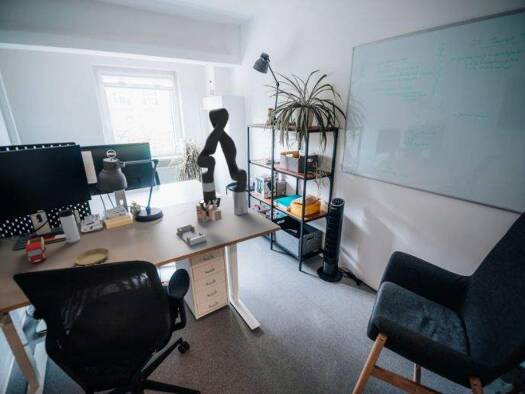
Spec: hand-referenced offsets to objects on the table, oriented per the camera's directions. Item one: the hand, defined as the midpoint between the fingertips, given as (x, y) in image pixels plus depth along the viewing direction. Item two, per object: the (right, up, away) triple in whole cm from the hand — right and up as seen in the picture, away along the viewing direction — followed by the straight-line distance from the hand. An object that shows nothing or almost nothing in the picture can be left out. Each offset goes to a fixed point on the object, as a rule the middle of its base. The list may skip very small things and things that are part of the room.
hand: (211, 215), depth 153 cm
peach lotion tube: (0, -1, 0) cm, 1 cm away
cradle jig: (-11, -13, -5) cm, 18 cm away
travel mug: (-79, -15, -8) cm, 81 cm away
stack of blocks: (-8, -3, +25) cm, 27 cm away
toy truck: (-87, -20, -22) cm, 92 cm away
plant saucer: (-55, -21, -26) cm, 65 cm away
